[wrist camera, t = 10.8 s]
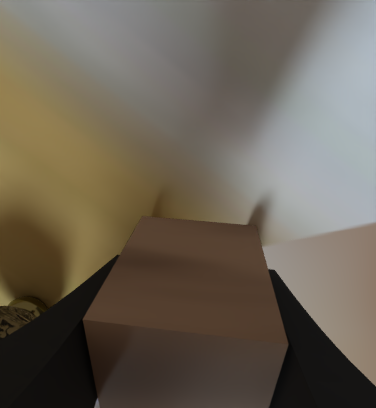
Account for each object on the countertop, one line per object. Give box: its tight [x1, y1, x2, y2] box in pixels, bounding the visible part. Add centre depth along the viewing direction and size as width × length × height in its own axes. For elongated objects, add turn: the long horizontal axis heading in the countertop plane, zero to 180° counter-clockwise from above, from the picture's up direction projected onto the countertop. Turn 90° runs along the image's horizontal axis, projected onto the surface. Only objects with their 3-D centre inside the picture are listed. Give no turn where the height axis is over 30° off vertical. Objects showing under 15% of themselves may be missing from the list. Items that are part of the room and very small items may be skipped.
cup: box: [0, 296, 48, 340], centre depth 20 cm, size 8×7×8 cm
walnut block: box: [83, 216, 289, 408], centre depth 9 cm, size 4×4×5 cm
